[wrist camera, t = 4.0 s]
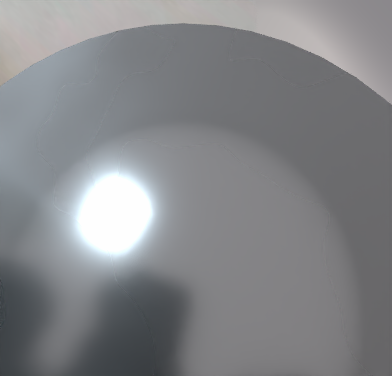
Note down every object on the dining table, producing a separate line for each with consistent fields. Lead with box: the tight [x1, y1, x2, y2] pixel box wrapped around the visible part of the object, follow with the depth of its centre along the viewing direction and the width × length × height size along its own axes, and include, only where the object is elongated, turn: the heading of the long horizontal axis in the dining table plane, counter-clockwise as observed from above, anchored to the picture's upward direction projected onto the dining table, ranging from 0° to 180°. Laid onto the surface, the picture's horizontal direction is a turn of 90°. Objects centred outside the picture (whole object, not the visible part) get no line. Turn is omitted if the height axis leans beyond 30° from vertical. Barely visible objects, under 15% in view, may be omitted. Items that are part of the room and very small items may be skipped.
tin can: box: [0, 24, 392, 376], centre depth 8 cm, size 7×7×12 cm
